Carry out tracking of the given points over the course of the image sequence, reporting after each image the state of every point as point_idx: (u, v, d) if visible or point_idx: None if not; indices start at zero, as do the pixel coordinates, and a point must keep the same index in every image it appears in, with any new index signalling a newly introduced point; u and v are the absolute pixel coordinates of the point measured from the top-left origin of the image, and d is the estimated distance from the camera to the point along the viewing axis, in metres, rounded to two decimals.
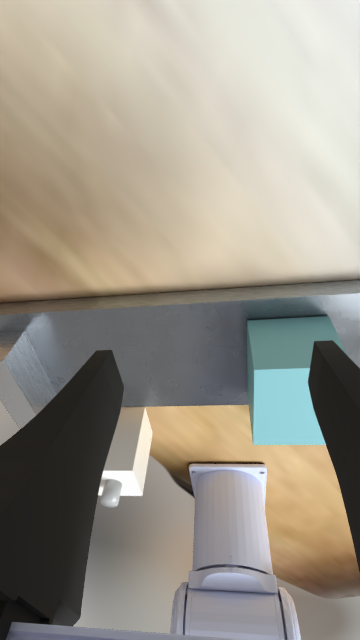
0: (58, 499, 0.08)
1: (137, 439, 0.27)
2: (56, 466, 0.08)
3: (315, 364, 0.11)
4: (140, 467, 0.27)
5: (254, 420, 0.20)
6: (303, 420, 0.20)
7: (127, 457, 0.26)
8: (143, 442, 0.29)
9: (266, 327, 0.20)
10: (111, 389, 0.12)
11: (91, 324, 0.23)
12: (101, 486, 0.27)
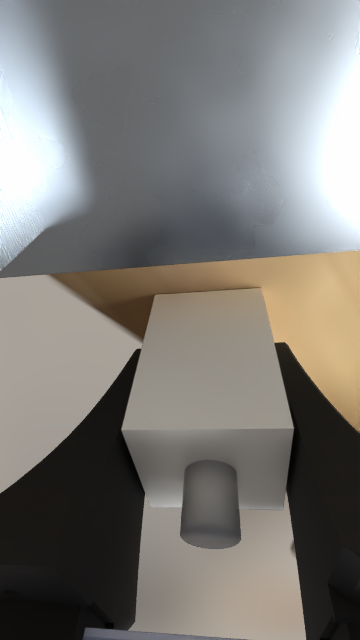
0: (118, 500, 0.08)
1: (272, 348, 0.10)
2: (116, 466, 0.08)
3: None
4: None
5: None
6: None
7: (259, 391, 0.08)
8: None
9: None
10: None
11: None
12: (170, 482, 0.09)
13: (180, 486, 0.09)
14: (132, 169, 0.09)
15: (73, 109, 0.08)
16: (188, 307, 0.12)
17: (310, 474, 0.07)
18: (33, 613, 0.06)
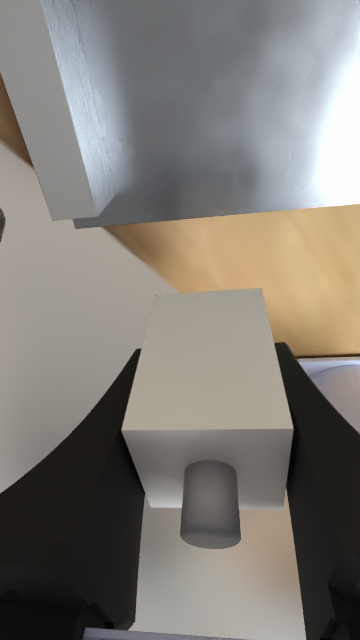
0: (118, 500, 0.08)
1: (271, 348, 0.10)
2: (116, 466, 0.08)
3: None
4: None
5: None
6: None
7: (259, 391, 0.08)
8: None
9: None
10: None
11: None
12: (170, 482, 0.09)
13: (180, 486, 0.09)
14: (171, 158, 0.15)
15: (140, 124, 0.14)
16: (188, 308, 0.12)
17: (310, 474, 0.07)
18: (33, 613, 0.06)
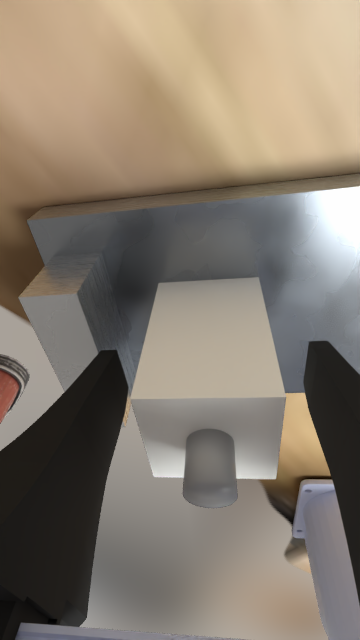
0: (65, 499, 0.08)
1: (267, 329, 0.10)
2: (63, 466, 0.08)
3: (310, 364, 0.11)
4: None
5: None
6: None
7: (256, 366, 0.09)
8: None
9: None
10: (116, 389, 0.12)
11: (233, 234, 0.12)
12: (173, 452, 0.10)
13: (182, 455, 0.10)
14: None
15: None
16: (190, 294, 0.13)
17: None
18: None
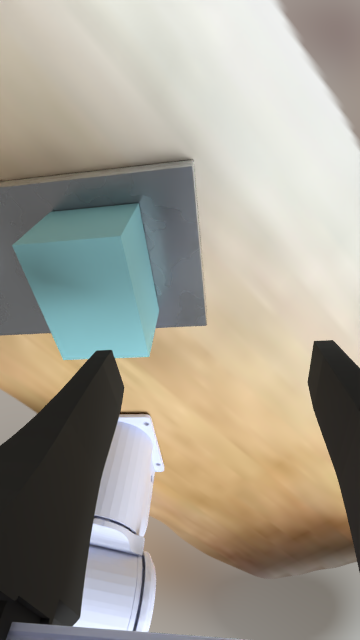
0: (58, 499, 0.08)
1: None
2: (56, 466, 0.08)
3: (315, 364, 0.11)
4: None
5: (48, 323, 0.17)
6: (101, 321, 0.17)
7: None
8: None
9: (64, 215, 0.17)
10: (111, 389, 0.12)
11: None
12: None
13: None
14: None
15: None
16: None
17: None
18: None
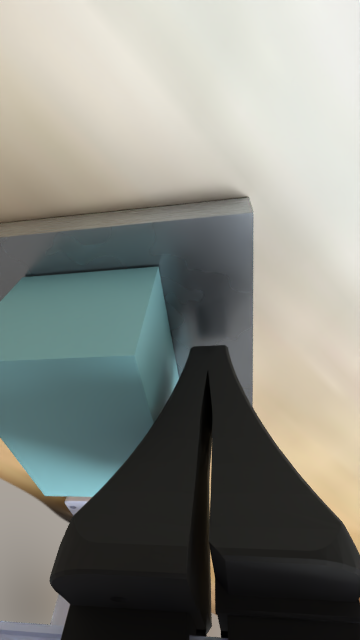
0: (201, 502, 0.08)
1: None
2: (199, 467, 0.08)
3: None
4: None
5: (18, 458, 0.11)
6: (101, 459, 0.11)
7: None
8: None
9: (41, 287, 0.11)
10: None
11: None
12: None
13: None
14: None
15: None
16: None
17: None
18: (137, 620, 0.06)
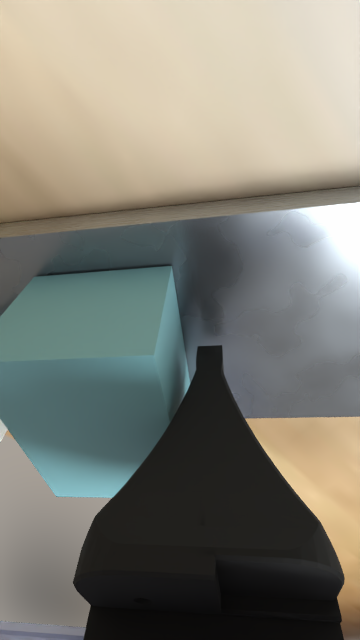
0: None
1: None
2: None
3: None
4: None
5: (31, 458, 0.11)
6: (115, 459, 0.11)
7: None
8: None
9: (54, 286, 0.11)
10: None
11: None
12: None
13: None
14: None
15: None
16: None
17: None
18: (160, 622, 0.06)
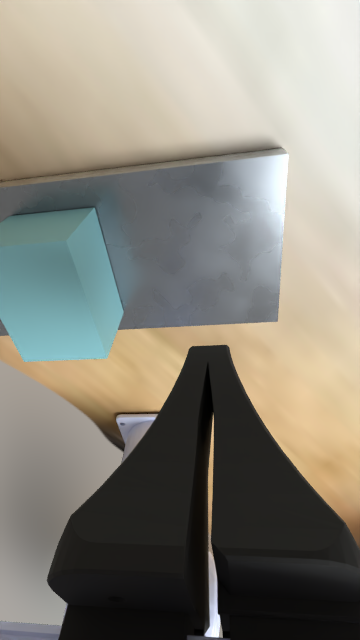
0: (199, 502, 0.08)
1: None
2: (198, 467, 0.08)
3: None
4: None
5: (5, 326, 0.18)
6: (57, 324, 0.17)
7: None
8: None
9: (20, 219, 0.18)
10: (210, 387, 0.11)
11: None
12: None
13: None
14: None
15: None
16: None
17: None
18: (135, 620, 0.06)
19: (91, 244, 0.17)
